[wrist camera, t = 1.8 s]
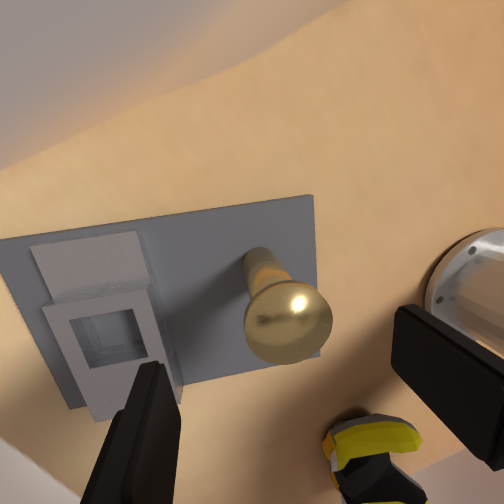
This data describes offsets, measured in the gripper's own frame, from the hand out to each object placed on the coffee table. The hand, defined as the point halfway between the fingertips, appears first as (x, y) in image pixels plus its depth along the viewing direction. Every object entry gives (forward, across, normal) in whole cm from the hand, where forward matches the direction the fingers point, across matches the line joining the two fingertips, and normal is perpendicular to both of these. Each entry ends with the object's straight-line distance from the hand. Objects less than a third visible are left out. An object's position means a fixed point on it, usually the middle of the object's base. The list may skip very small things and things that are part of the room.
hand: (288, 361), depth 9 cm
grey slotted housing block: (+12, +11, +3) cm, 16 cm away
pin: (+11, -1, 0) cm, 11 cm away
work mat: (+12, +6, +3) cm, 14 cm away
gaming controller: (+12, -11, +27) cm, 32 cm away
